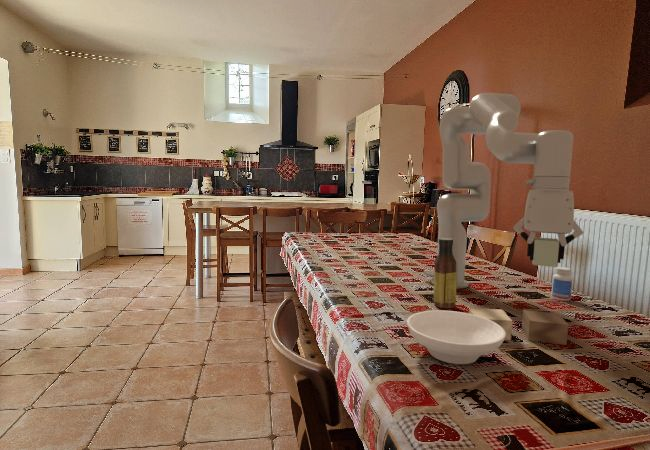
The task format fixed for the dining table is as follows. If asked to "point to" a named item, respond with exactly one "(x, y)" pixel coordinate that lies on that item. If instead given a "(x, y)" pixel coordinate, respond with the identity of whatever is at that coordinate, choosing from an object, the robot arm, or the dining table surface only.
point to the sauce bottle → (445, 275)
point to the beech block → (495, 318)
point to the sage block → (545, 252)
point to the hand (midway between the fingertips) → (544, 260)
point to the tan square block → (544, 327)
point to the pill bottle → (562, 284)
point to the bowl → (455, 335)
